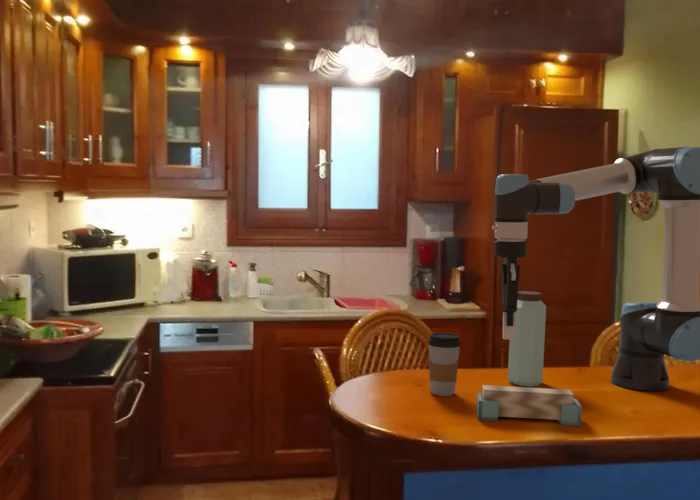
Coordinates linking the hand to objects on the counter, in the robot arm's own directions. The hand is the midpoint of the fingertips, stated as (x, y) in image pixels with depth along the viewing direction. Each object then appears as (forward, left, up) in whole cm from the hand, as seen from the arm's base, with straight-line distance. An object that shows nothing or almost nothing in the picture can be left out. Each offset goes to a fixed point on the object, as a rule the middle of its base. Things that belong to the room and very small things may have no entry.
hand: (508, 338), depth 172 cm
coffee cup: (+15, -12, -18) cm, 26 cm away
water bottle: (-8, -27, -18) cm, 33 cm away
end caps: (-4, +6, -17) cm, 19 cm away
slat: (-4, +6, -17) cm, 18 cm away
